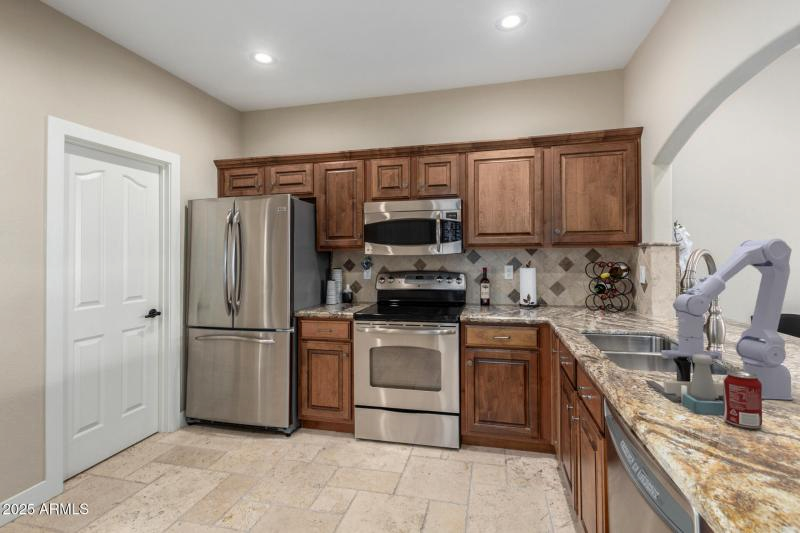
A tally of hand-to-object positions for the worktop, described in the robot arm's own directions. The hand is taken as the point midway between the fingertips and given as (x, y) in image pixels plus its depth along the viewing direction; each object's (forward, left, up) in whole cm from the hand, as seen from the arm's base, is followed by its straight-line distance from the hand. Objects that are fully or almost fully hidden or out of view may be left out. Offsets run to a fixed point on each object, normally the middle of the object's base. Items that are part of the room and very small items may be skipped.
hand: (691, 383), depth 110 cm
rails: (0, -2, -3) cm, 4 cm away
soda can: (-1, +20, -4) cm, 20 cm away
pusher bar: (0, -1, -3) cm, 3 cm away
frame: (0, +11, -3) cm, 11 cm away
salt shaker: (0, +6, -4) cm, 7 cm away
